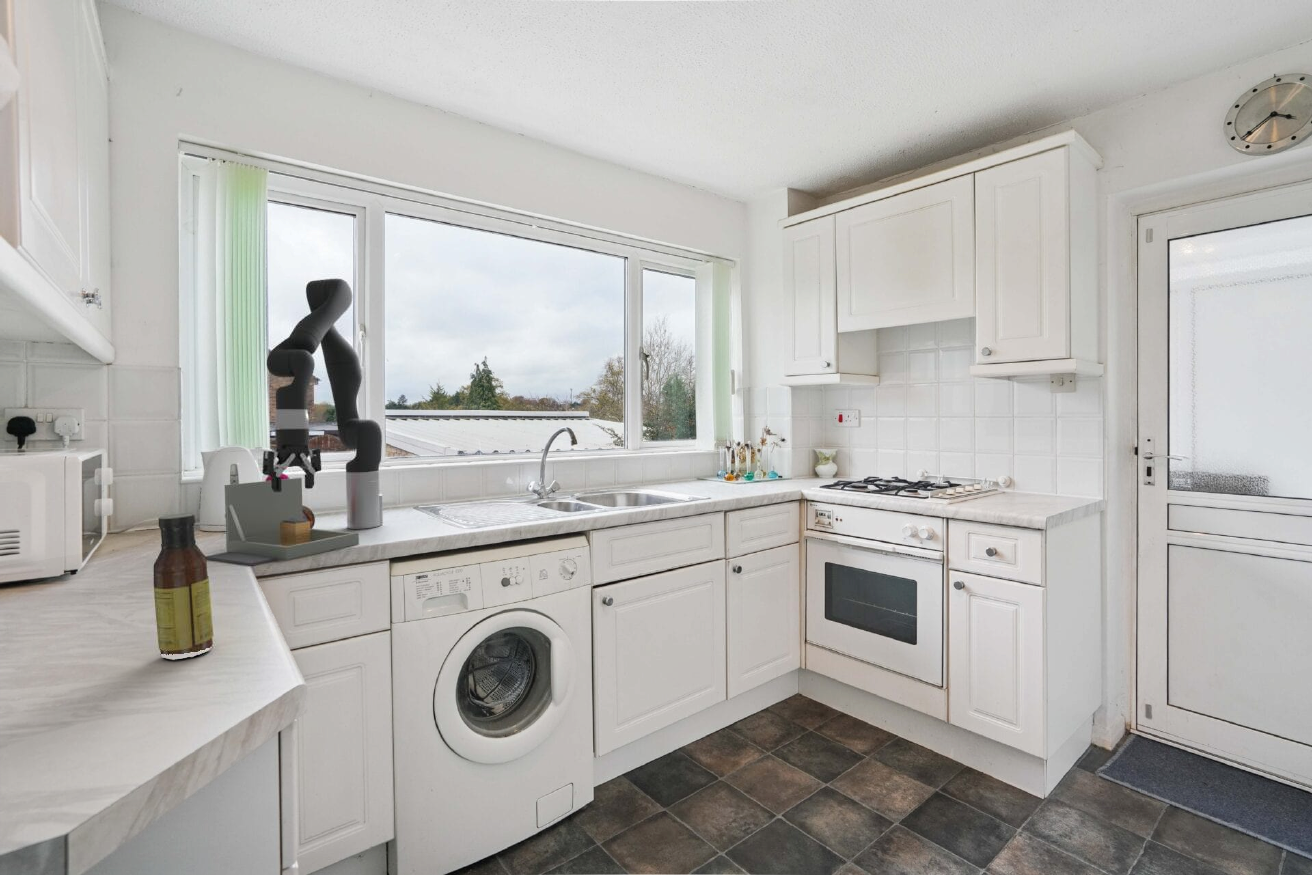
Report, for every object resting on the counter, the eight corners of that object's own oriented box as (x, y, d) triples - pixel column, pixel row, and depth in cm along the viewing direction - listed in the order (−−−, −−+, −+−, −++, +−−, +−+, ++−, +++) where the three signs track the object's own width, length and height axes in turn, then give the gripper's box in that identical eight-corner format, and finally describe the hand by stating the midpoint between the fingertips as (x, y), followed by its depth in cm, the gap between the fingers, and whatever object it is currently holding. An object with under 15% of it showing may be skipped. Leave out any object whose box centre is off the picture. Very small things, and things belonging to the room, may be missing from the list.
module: (295, 546, 164) (294, 518, 164) (310, 547, 161) (310, 519, 161) (280, 549, 160) (280, 520, 160) (296, 551, 158) (295, 522, 158)
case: (301, 538, 175) (299, 477, 175) (358, 544, 165) (357, 480, 165) (226, 552, 157) (224, 485, 156) (286, 560, 147) (284, 488, 147)
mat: (230, 553, 155) (230, 551, 155) (277, 560, 147) (277, 557, 147) (204, 559, 149) (203, 556, 149) (251, 565, 142) (251, 563, 142)
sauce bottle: (206, 642, 92) (201, 509, 92) (220, 652, 88) (215, 513, 88) (150, 656, 87) (145, 515, 87) (162, 667, 83) (157, 519, 83)
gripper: (308, 427, 168) (309, 487, 168) (255, 427, 155) (256, 492, 156) (327, 427, 165) (328, 488, 165) (274, 427, 152) (275, 493, 152)
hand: (293, 490), depth 160 cm, fingers open, 8 cm apart
